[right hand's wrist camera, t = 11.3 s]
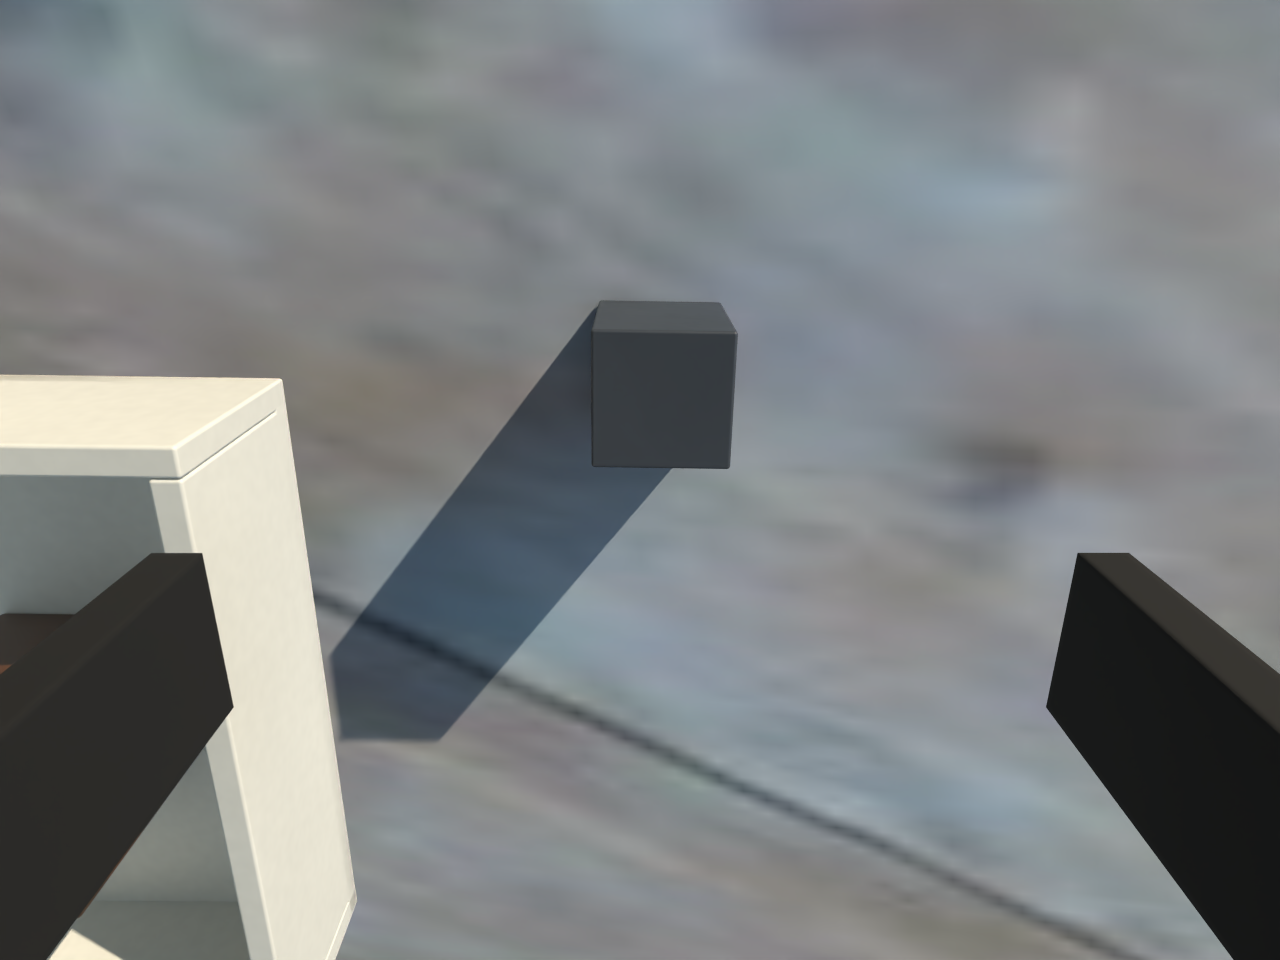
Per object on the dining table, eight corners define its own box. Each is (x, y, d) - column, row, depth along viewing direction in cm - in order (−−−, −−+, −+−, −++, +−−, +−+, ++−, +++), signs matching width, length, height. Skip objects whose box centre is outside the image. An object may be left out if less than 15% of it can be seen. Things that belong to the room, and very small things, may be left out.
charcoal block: (715, 419, 29) (730, 469, 24) (599, 417, 29) (591, 467, 24) (721, 302, 28) (738, 332, 23) (599, 300, 27) (590, 329, 23)
